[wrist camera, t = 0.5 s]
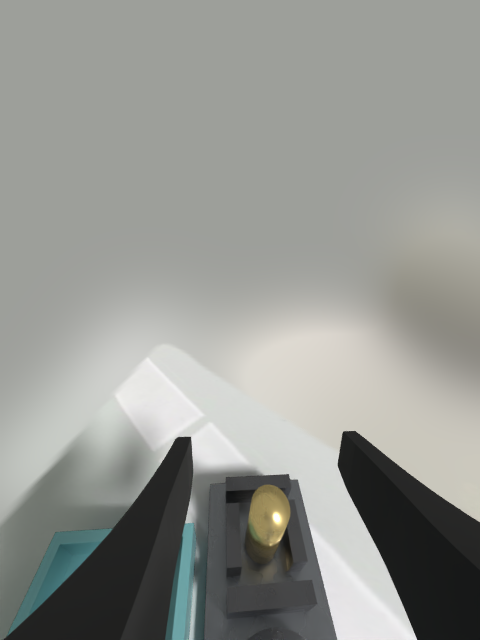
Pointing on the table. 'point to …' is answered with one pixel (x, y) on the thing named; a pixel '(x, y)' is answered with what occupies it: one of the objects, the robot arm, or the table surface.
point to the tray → (74, 550)
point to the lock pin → (266, 523)
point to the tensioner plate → (262, 571)
